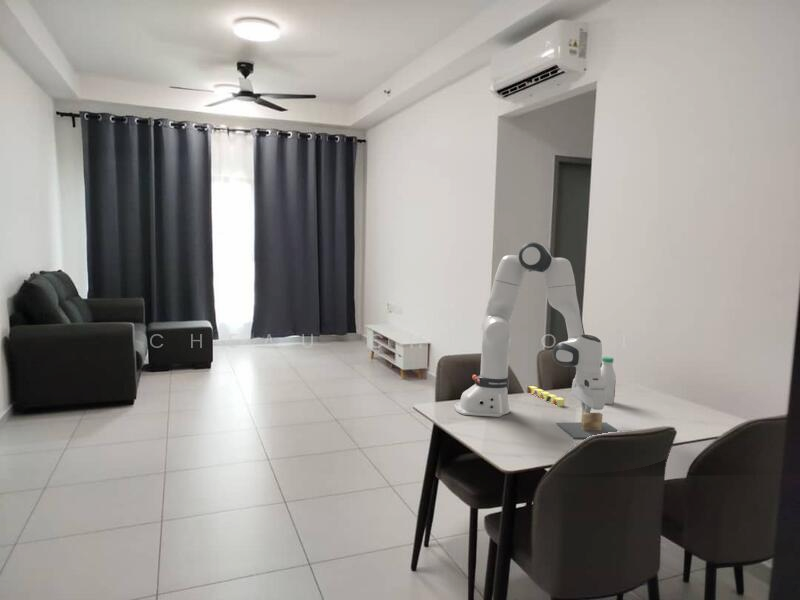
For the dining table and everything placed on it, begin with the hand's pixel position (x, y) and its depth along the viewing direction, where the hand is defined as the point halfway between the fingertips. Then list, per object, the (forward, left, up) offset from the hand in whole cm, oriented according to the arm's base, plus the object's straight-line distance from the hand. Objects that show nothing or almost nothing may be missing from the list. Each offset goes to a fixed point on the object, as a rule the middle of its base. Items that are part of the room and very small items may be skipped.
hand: (585, 414), depth 207 cm
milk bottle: (+24, +32, -5) cm, 40 cm away
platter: (-3, +36, -5) cm, 36 cm away
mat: (0, -5, -5) cm, 7 cm away
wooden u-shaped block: (0, -5, -4) cm, 7 cm away
